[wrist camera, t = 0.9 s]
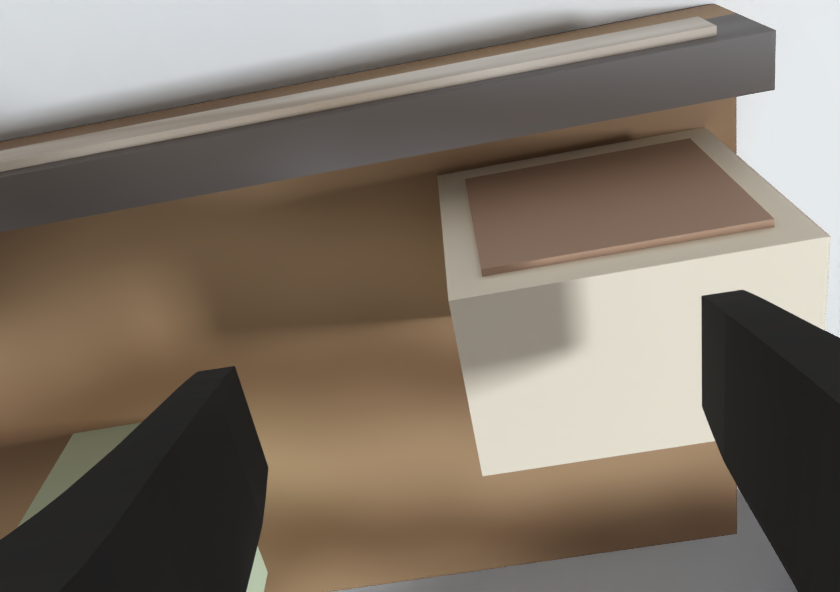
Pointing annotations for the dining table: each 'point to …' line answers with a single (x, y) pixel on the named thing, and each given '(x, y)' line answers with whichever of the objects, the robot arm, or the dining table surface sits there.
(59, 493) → the sage carton
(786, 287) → the cream carton
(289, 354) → the shelf board
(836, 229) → the dining table surface
